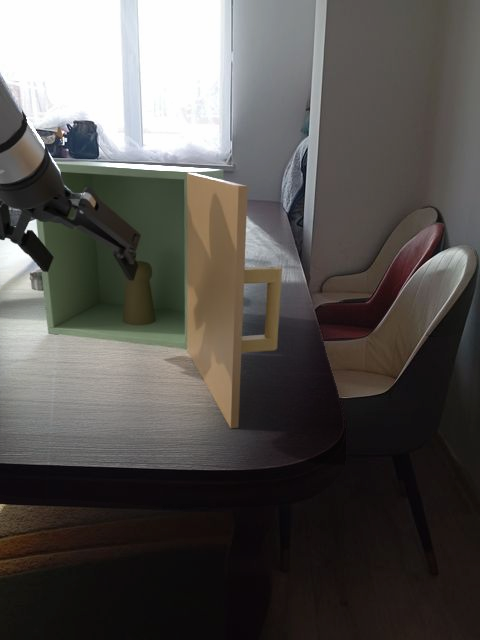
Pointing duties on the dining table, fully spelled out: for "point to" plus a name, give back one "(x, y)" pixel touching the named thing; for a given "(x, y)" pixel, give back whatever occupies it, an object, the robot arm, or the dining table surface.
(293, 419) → the dining table surface
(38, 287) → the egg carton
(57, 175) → the robot arm
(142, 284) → the olive brown pawn
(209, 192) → the cabinet door
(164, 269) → the cabinet
